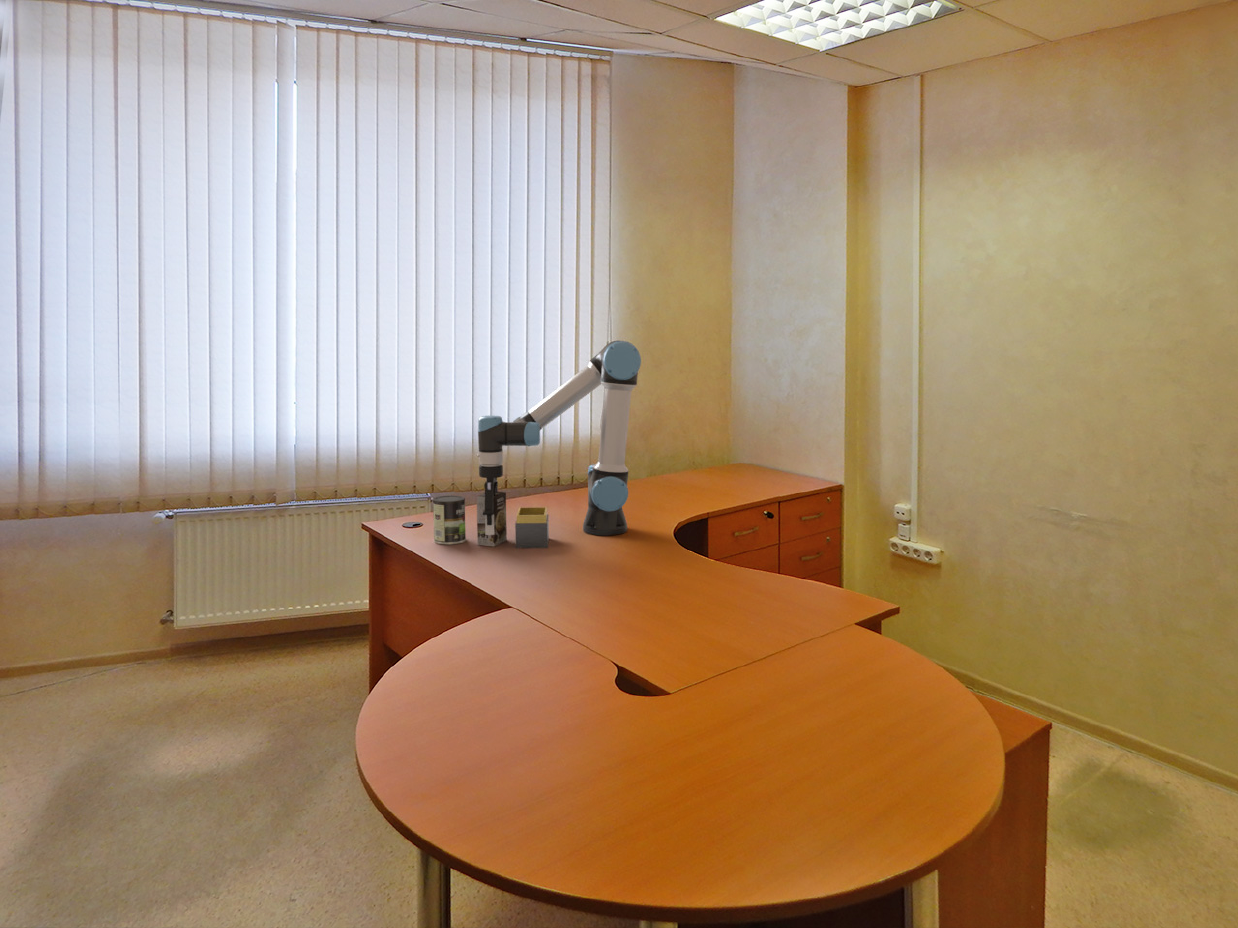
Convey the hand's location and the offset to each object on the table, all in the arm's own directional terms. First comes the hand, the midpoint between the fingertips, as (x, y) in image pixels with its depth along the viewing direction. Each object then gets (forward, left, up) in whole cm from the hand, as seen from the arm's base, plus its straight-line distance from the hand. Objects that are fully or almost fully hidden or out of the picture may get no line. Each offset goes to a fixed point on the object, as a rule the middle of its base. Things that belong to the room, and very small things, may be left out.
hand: (491, 529), depth 272 cm
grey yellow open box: (-13, +1, -4) cm, 14 cm away
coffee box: (0, 0, -5) cm, 5 cm away
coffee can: (+14, -3, -5) cm, 15 cm away
